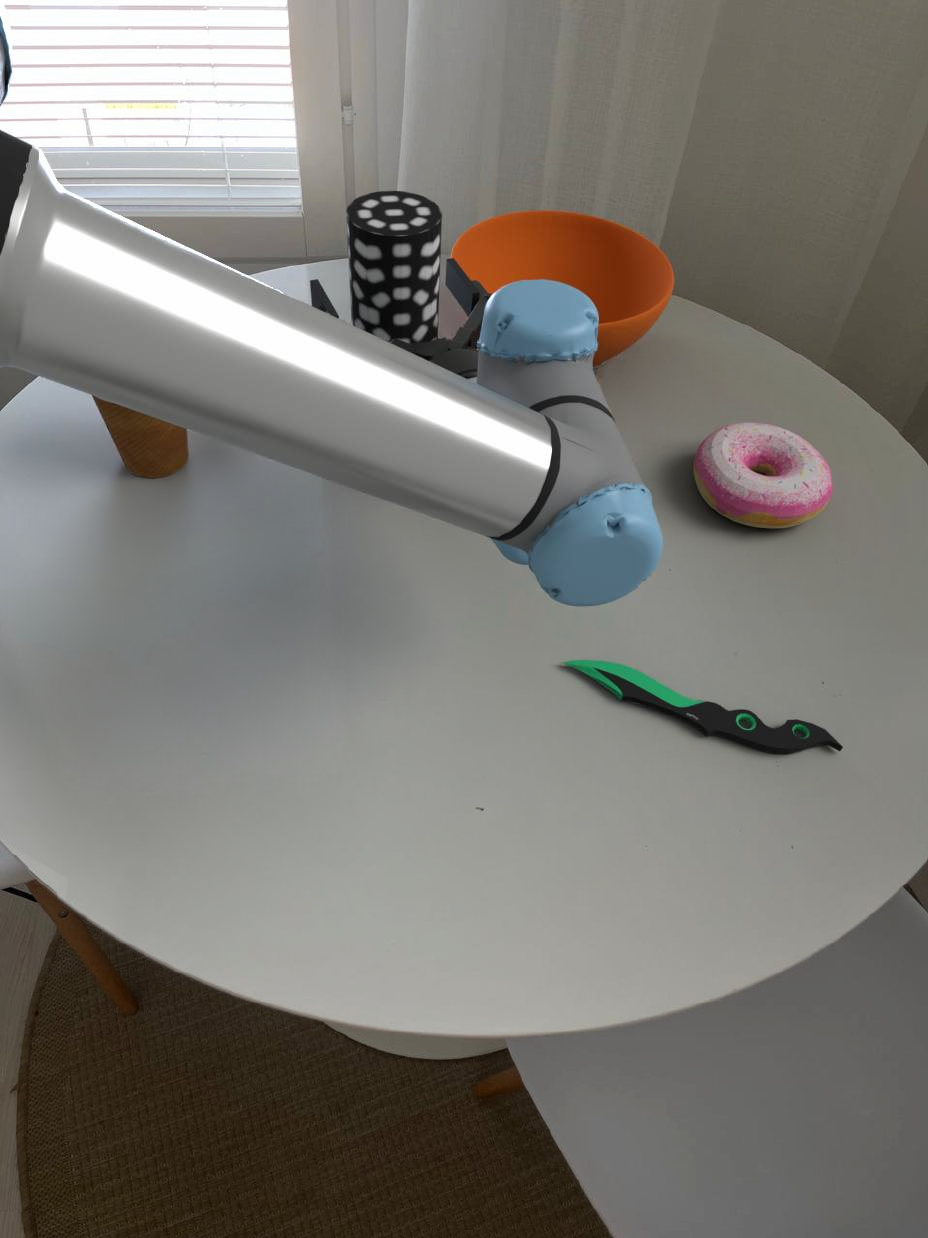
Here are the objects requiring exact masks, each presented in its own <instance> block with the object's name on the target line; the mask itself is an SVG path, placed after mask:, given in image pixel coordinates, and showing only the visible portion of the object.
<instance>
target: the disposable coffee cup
mask: <svg viewBox="0 0 928 1238" xmlns="http://www.w3.org/2000/svg"><path fill="white" fill-rule="evenodd" d="M91 397H92V400H93V402H94V403H95V405H96V408H97V409H98V412H99V414H100V416H101V418H102V420H103V423H104V425H105V427H106V429H107V430H108V433H109V435H110V437H111V439H112V441H113V443H114V445H115V447H116V449H117V452H118V454H119V455H120V458H121V461H122V462H123V464H124V466H125V468H126V469H127V470H128V471H129V472H130V473H132V474H133V475H136V476H138V477H141V478H147V479H153V478H154V479H157V478H164V477H167V476H171V475H172V474H174V473H176V472H178V471H179V470H181V469H182V468H184V466H185V465H186V464H187V462H188V460H189V456H190V453H189V452H190V451H189V441H188V437H189V436H188V429H185V428H182V427H180V426H177V425H174V424H171V423H168V422H166V421H163V420H160V419H157V418H155V417H152V416H149V415H146V414H143V413H141V412H138V411H135V410H132V409H129V408H127V407H124V406H121V405H118V404H115V403H113V402H110V401H107V400H104V399H102V398H99V397H96V396H93V395H91Z"/></svg>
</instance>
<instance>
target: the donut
mask: <svg viewBox="0 0 928 1238" xmlns="http://www.w3.org/2000/svg"><path fill="white" fill-rule="evenodd" d="M693 476H694V480H695V483H696V486H697V490H698V492H699V493H700V495H701V497H702V498H703V500H704V501H705V502H706V503H707V505H708V506H710V508H711V509H712V510H715V512H717V513H719V515H721V516H723V517H726V518H727V519H729V520H731V521H733V522H734V523H738V524H741V525H744V526H749V527H753V528H760V529H762V528H763V529H786V528H792V527H797V526H799V525H802V524H804V523H807V522H808V521H809V520H811V519H813V518H814V517H816V516H817V515H818V514H820V513H822V512H823V510H824V509H825V507H826V506H827V504H828V503H829V501H830V499H831V498H832V494H833V490H834V485H833V477H832V471H831V468H830V466H829V464H828V462H827V461H826V459H825V458H824V457H823V456H822V454H821V453H820V452H819V451H818V450H817V449H816V448H815V447H814V446H813V445H812V444H811V443H810V442H809V441H807V440H806V439H805V438H803V437H801V436H800V435H798V434H796V433H794V432H792V431H790V430H789V429H786V428H783V427H780V426H777V425H773V424H769V423H763V422H737V423H732V424H726V425H723V426H722V427H719V428H716V429H715V430H714V431H713V432H711V433H710V434H708V435H707V436H706V437H705V438H704V439H703V440H702V441H701V442H700V444H699V446H698V448H697V451H696V454H695V457H694V461H693Z"/></svg>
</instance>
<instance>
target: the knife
mask: <svg viewBox="0 0 928 1238" xmlns="http://www.w3.org/2000/svg"><path fill="white" fill-rule="evenodd" d="M560 663H562V664H564V665H566V666H569V667H572V668H573V669H576V670H578V671H580V672H582V673H584V674H586V675H587V676H588V677H590V678H592V679H593V680H594V681H596V682H597V683H599V684H600V685H602V687H604V688H606V689H607V690H608V691H610V692H611V693H613V695H615V696H616V697H617V698H618V699H619V700H620V701H621V702H629V703H634V704H637V705H640V706H643V707H647V708H650V709H652V710H655V711H658V712H660V713H663V714H666V715H668V716H671V717H673V718H676V719H678V720H680V721H682V722H683V723H686V724H688V725H690V726H692V727H693V728H695V729H696V730H698V731H700V732H701V733H702V734H703V735H704V736H705V737H709V736H717V737H721V738H724V739H727V740H730V741H733V742H735V743H737V744H741V745H743V746H746V747H749V748H752V749H755V750H758V751H762V752H766V753H771V754H776V755H777V754H779V755H790V754H793V753H798V752H802V751H805V750H808V749H810V748H814V747H819V746H828V747H830V748H831V749H834V750H836V751H838V752H841V751H842V749H843V748H844V746H843V745H842V744H841V743H840V742H839V741H838V740H837V739H836V738H835V737H834V736H833V735H832V734H831V733H830V732H829V731H828V730H827V729H825V728H823V727H821V726H819V725H817V724H815V723H812V722H808V721H804V720H802V719H797V718H796V719H786V721H785V723H783V724H782V725H781V726H778V727H770V726H768V725H767V724H765V723H764V721H763V720H762V719H761V718H759V716H758V715H757V713H755V712H754V711H752V710H749V709H744V708H743V709H742V708H741V709H739V708H737V709H731V710H729V709H726V708H724V707H723V706H722V705H721V704H719V703H717V702H714V701H709V700H708V701H707V700H698V699H692V698H689V697H686V696H684V695H682V694H680V693H678V692H676V691H674V690H673V689H671V688H669V687H668V686H666V685H665V684H663V683H661V682H659V681H658V680H656V679H654V678H653V677H651V676H649V675H647V674H646V673H644V672H643V671H640V670H638V669H635V668H633V667H631V666H627V665H625V664H620V663H617V662H613V661H607V660H596V659H595V660H593V659H574V660H567V661H560ZM740 720H745V721H748V723H750V725H751V727H750V728H745V727H742V726H741V725H740V723H739V721H740ZM795 730H799V731H802V732H803V733H804V735H805V736H804V737H799V736H797V735H796V734H795Z"/></svg>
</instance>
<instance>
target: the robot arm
mask: <svg viewBox="0 0 928 1238" xmlns="http://www.w3.org/2000/svg"><path fill="white" fill-rule="evenodd" d="M9 20H10V19H9V17H8V12H7V10H6V7H5V4H4V0H0V107H1V106H2V104H3V103H4V101H5V100H6V98H7V96H8V95H9V92H10V82H11V79H12V76H13V68H12V67H13V66H12V57H13V56H12V55H13V43H12V41H13V40H12V32H11V26H10V21H9ZM445 260H446V261H445V283H444V285H445V286H446V288H447V290H448V291H449V293H450V294H451V295H452V296H453V298H454V299H455V300H456V302H457V303H458V304H459V306H460V307H461V308H462V310H463V312H464V311H465V312H464V313H465V315H466V314H467V315H468V317H469V318H468V317H467V319H466V321H465V323H464V324H463V326H460V327H459V328H458V330H457V331H456V333H455V334H454V336H453V338H452V339H447V338H446V337H441V338H438V339H436V340H433V341H430V342H418V343H412V344H410V343H407V342H404V341H401V340H398V339H393V340H392V341H391V342H389V341H387V340H384V339H381V338H378V337H376V336H374V335H372V334H370V333H368V332H366V331H364V330H361V329H359V328H357V327H355V326H353V325H352V323H349V322H346V321H344V320H342V319H340V315H339V313H338V312H337V310H336V308H335V306H334V305H333V303H332V301H331V299H330V298H329V296H328V294H327V293H326V291H325V289H324V288H323V285H322V284H321V282H320V280H319V279H318V278H316V279H311V280H309V285H310V286H309V287H310V298H311V304H308V303H306V302H304V301H301V300H300V299H297V298H295V297H293V296H291V295H289V294H287V293H285V292H283V291H280V290H279V289H276V288H274V287H272V286H270V285H268V284H266V283H264V282H261V281H259V280H258V279H256V278H253V277H251V276H249V275H247V274H244V273H242V272H240V271H238V270H236V269H234V268H232V267H230V266H228V265H225V264H224V263H221V262H219V261H218V260H215V259H213V258H211V257H209V256H206V255H204V254H202V253H201V252H198V251H196V250H194V249H192V248H189V247H187V246H185V245H183V244H181V243H179V242H176V241H175V240H172V239H171V238H169V237H165V236H163V235H161V234H160V233H158V232H155V231H153V230H152V229H149V228H147V227H144V226H142V225H140V224H138V223H136V222H134V221H133V220H130V219H128V218H125V217H123V216H121V215H119V214H117V213H115V212H113V211H111V210H108V209H106V208H104V207H102V206H100V205H98V204H96V203H94V202H92V201H90V200H87V199H86V198H83V197H81V196H79V195H77V194H74V193H73V192H71V191H68V190H66V189H65V188H64V187H63V186H62V185H61V184H60V183H59V182H58V181H57V178H56V177H55V174H54V172H53V170H52V169H51V166H50V164H49V163H48V161H47V159H46V157H45V155H44V152H43V151H42V149H40V148H39V147H37V146H35V145H33V144H31V143H28V142H27V141H25V140H22V139H21V138H19V137H16V136H14V135H12V134H10V133H8V132H6V131H4V130H2V129H0V369H1V368H3V367H4V368H5V367H6V368H15V369H18V370H21V371H24V372H26V373H29V374H32V375H34V376H38V377H41V378H44V379H46V380H49V381H50V382H51V381H52V382H54V383H57V384H60V385H63V386H66V387H68V388H71V389H74V390H76V391H79V392H82V393H85V394H88V395H91V396H92V395H93V396H96V397H99V398H102V399H104V400H107V401H110V402H113V403H115V404H118V405H121V406H124V407H127V408H129V409H132V410H135V411H138V412H141V413H143V414H146V415H149V416H152V417H155V418H157V419H160V420H163V421H166V422H168V423H171V424H174V425H177V426H180V427H182V428H185V429H187V431H191V432H193V433H197V434H198V435H199V434H200V435H202V436H205V437H208V438H210V439H214V440H216V441H219V442H222V443H224V444H227V445H229V446H233V447H235V448H239V449H241V450H244V451H247V452H248V453H249V452H250V453H252V454H254V455H255V454H256V455H257V456H261V457H263V458H266V459H269V460H272V461H275V462H277V463H280V464H283V465H286V466H289V467H290V468H291V467H292V468H294V469H297V470H299V471H301V472H305V473H307V474H310V475H314V476H316V477H320V478H321V479H325V480H327V481H331V482H333V483H336V484H339V485H340V486H344V487H347V488H350V489H353V490H356V491H358V492H360V493H363V494H366V495H369V496H372V497H375V498H378V499H380V500H384V501H386V502H389V503H391V504H394V505H397V506H400V507H403V508H405V509H408V510H411V511H414V512H416V513H419V514H423V515H425V516H427V517H430V518H433V519H437V520H439V521H442V522H445V523H447V524H450V525H452V526H453V525H454V526H456V527H459V528H462V529H464V530H467V531H470V532H472V533H475V534H478V535H482V536H483V537H486V538H489V539H490V540H491V541H492V543H493V544H494V545H495V547H496V548H497V549H498V551H499V552H500V553H501V555H502V556H503V557H504V558H505V559H507V560H508V561H510V562H512V563H514V564H517V565H521V566H528V569H529V571H530V572H531V573H533V574H534V576H535V579H536V581H537V583H538V584H539V586H540V589H541V590H542V591H544V592H545V594H547V595H548V596H549V598H550V599H552V600H554V601H555V602H558V603H560V604H563V605H565V606H572V607H595V606H601V605H605V604H608V603H612V602H615V601H617V600H619V599H622V598H623V597H626V596H628V595H629V594H630V593H632V592H634V591H635V590H637V589H638V588H639V587H640V585H641V584H642V583H643V582H645V581H647V579H648V578H649V577H651V575H652V574H653V573H654V572H655V570H656V569H657V566H658V565H659V563H660V561H661V558H662V556H663V555H662V554H663V550H664V538H663V533H662V529H661V526H660V523H659V521H658V517H657V513H656V511H655V509H654V506H653V497H652V494H651V492H650V490H649V488H647V487H646V486H645V485H644V483H643V481H642V479H641V476H640V474H639V472H638V470H637V467H636V465H635V463H634V461H633V459H632V456H631V454H630V452H629V450H628V448H627V445H626V443H625V441H624V439H623V436H622V435H621V432H620V430H619V428H618V426H617V424H616V420H615V418H614V416H613V413H612V411H611V408H610V406H609V404H608V402H607V400H606V397H605V395H604V393H603V389H602V387H601V385H600V384H599V381H598V379H597V377H596V375H595V372H594V368H593V357H594V354H595V351H597V347H598V341H597V332H598V321H599V317H598V311H597V309H596V307H595V305H594V303H593V302H592V301H591V299H590V298H589V297H588V296H586V295H585V294H584V293H583V292H581V291H579V290H578V289H576V288H574V287H571V286H569V285H566V284H564V283H560V282H556V281H551V280H542V279H541V280H522V281H517V282H513V283H510V284H508V285H505V286H503V287H502V288H500V289H499V290H497V291H496V292H495V293H494V294H491V293H488V292H487V291H486V290H485V288H484V287H483V286H482V285H481V283H480V282H478V281H477V280H473V281H471V280H470V279H469V277H468V276H467V275H466V273H465V272H464V271H463V270H462V268H461V267H460V266H459V264H458V263H457V262H456V260H455V259H454V258H450V257H449V258H446V259H445ZM217 261H218V262H217ZM467 315H466V316H467Z"/></svg>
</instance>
